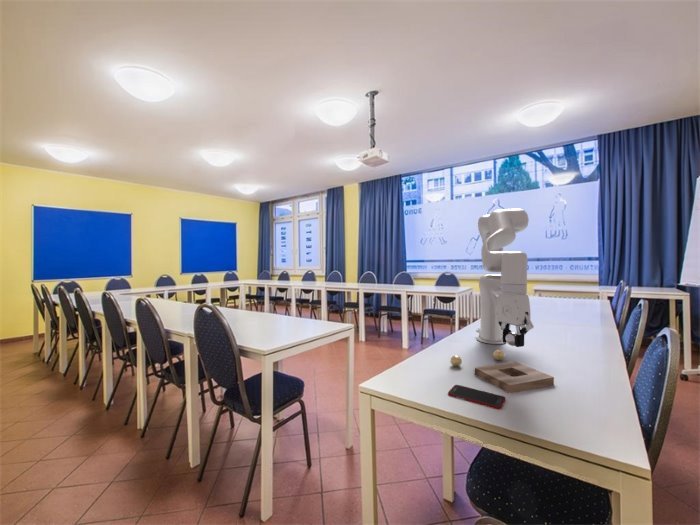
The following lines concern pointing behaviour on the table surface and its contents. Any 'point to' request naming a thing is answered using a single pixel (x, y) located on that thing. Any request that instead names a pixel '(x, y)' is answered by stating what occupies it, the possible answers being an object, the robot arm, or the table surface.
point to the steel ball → (510, 338)
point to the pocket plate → (522, 381)
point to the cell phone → (477, 396)
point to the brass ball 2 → (498, 355)
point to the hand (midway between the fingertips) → (513, 343)
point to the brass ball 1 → (456, 361)
